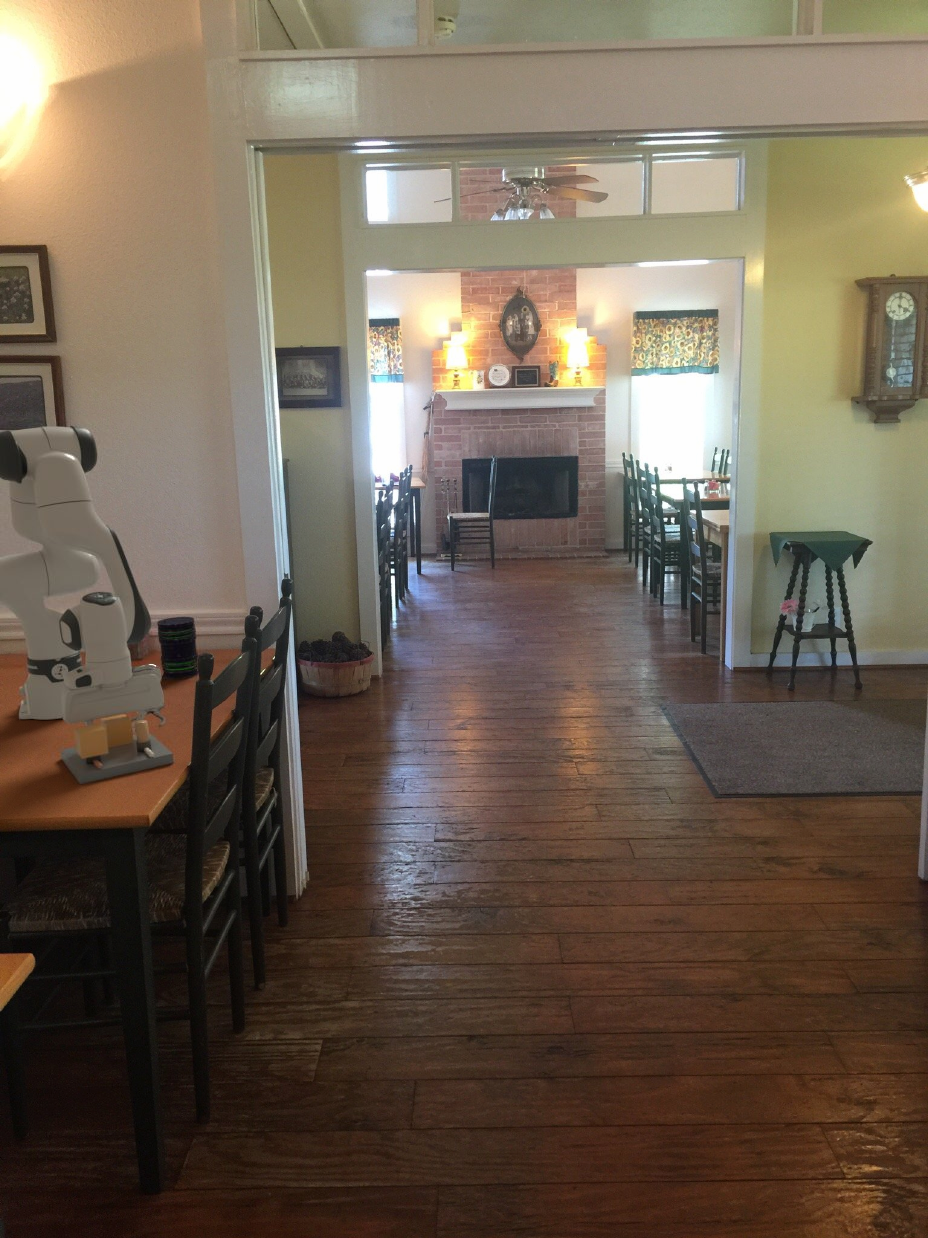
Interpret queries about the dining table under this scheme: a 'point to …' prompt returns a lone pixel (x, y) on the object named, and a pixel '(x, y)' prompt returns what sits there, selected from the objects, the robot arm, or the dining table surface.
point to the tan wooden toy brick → (118, 730)
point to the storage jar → (178, 647)
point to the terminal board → (113, 753)
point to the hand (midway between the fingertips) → (117, 734)
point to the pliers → (155, 712)
